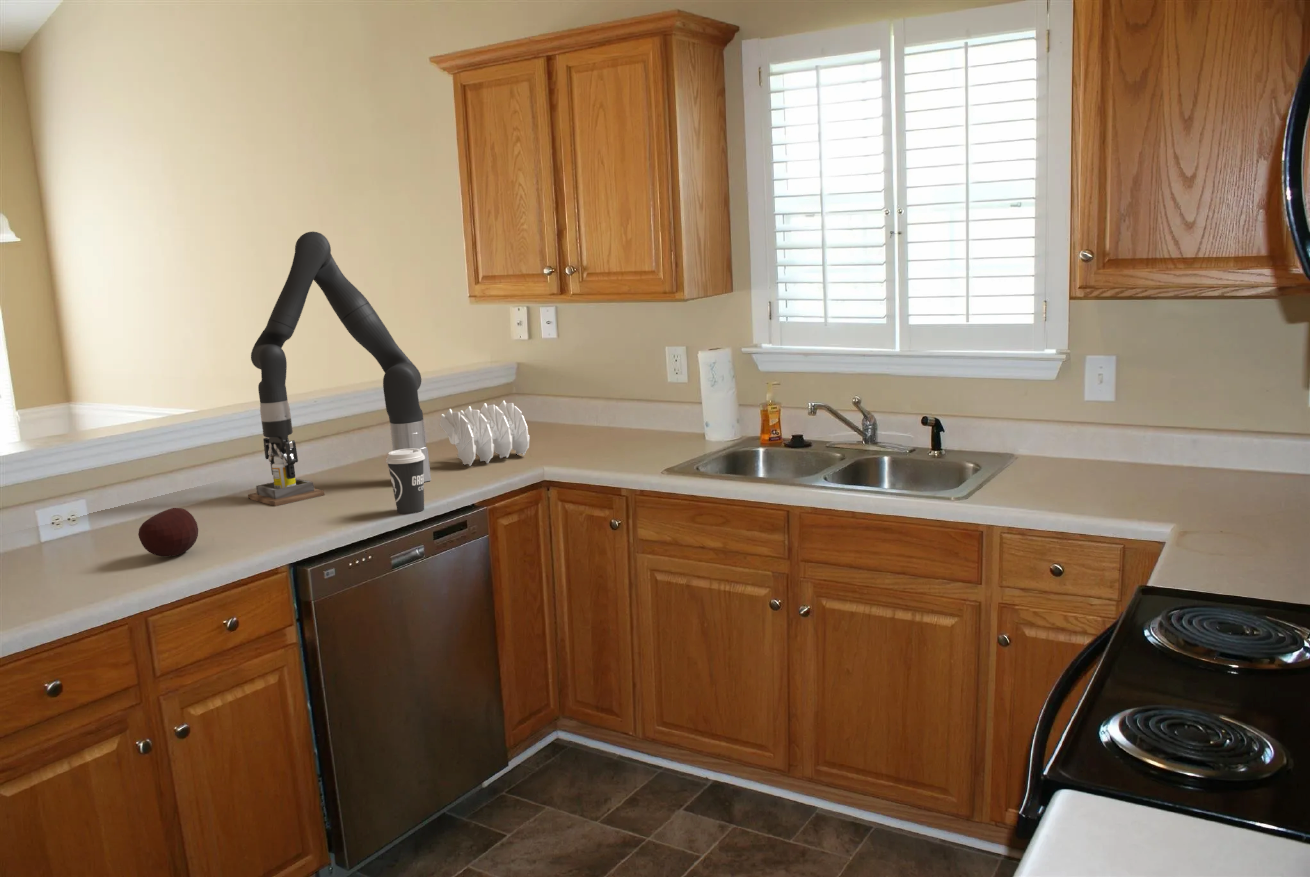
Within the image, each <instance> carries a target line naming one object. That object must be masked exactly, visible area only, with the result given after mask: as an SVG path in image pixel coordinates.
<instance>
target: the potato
mask: <svg viewBox="0 0 1310 877" xmlns="http://www.w3.org/2000/svg"><path fill="white" fill-rule="evenodd" d="M198 536H199V525H198V523H197V521H196V518H195V517H194V516H193V515H192V513H190V512H189V511H188V510H187V509H186V508H183V507H172V508H168V509H165V510H163V511H160V512H159V513H156V514H154V515H153V516H151V517H149V518H148V519H147V520H145V521H144V522H143V523H141V525H140V527H139V529H138V539H139V541H140V543H141V545H142V547H143V548H144V549H145V550H146V551H147V552H148V553H150V554H152V555H155V556H159V557H176V556H180V555H182V554H184V553H186V552H187V551H189V550H190V549H191V548H192V547H193V546H194V544H195V543H196V542H197V539H198Z"/></svg>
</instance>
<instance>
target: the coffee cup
mask: <svg viewBox="0 0 1310 877" xmlns="http://www.w3.org/2000/svg"><path fill="white" fill-rule="evenodd" d="M424 459H425V456H424V454H423V453H422V452H421V450H420V449H413V448H412V449H400V450H395V451H393V450H391V451H389V452H388V453H387V457H386V459H385V463H386V464H387V466H388V467H387V468H388V471H389V475H390V476H389V477H390V480H391V485H392V490H393V491H392V492H393V495H394V502H395V506H396V511H397V513H398V514H402V515H409V514H416V513H420V512H423V511H424V510H425V484H424V483H425V482H424V470H423V460H424Z"/></svg>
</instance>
